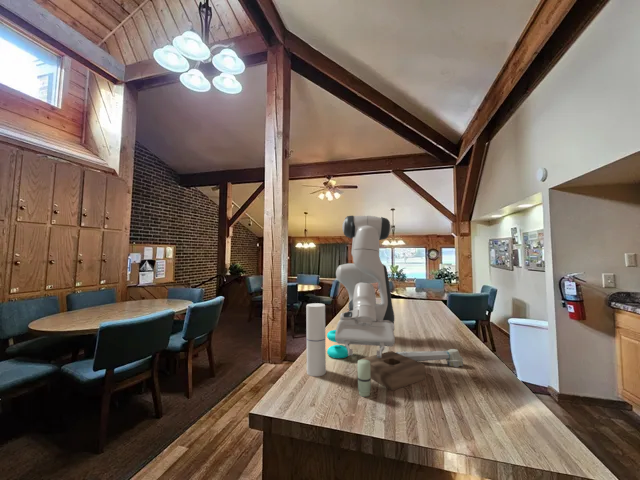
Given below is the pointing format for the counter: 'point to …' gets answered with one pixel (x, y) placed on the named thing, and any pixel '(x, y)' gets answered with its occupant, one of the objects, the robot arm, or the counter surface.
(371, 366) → the socket block
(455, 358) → the white handheld wand
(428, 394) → the counter surface
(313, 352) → the cylindrical container
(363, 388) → the peg
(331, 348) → the donuts
